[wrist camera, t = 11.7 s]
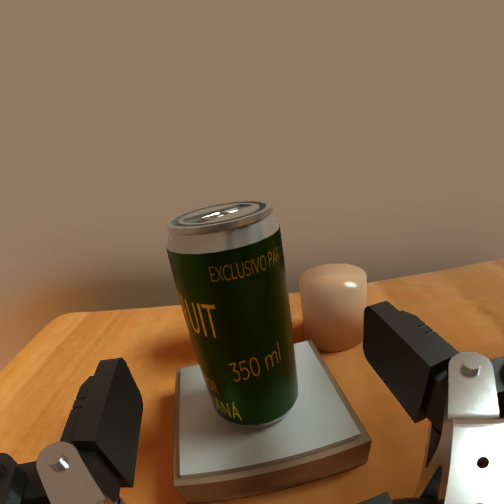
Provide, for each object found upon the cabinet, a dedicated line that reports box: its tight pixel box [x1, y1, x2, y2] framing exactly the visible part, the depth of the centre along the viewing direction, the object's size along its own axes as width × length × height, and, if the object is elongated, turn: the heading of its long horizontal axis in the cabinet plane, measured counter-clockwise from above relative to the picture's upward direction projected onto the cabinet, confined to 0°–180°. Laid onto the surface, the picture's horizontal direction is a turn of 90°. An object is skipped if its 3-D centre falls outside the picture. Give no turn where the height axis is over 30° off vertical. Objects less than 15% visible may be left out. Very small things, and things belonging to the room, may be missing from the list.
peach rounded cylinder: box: [299, 264, 367, 352], centre depth 28 cm, size 6×6×6 cm
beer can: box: [166, 200, 298, 429], centre depth 16 cm, size 5×5×12 cm
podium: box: [174, 340, 372, 504], centre depth 19 cm, size 11×11×3 cm
